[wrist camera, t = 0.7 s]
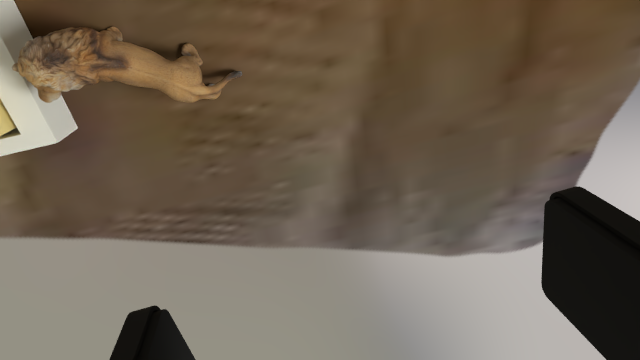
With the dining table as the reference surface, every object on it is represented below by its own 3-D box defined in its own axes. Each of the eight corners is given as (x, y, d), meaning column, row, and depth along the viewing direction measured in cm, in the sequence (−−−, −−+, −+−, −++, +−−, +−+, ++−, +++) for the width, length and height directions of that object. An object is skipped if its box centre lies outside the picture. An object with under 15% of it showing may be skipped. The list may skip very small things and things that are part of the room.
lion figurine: (68, 83, 34) (9, 110, 26) (60, 17, 32) (-8, 23, 24) (240, 99, 36) (236, 127, 28) (243, 39, 34) (239, 52, 26)
